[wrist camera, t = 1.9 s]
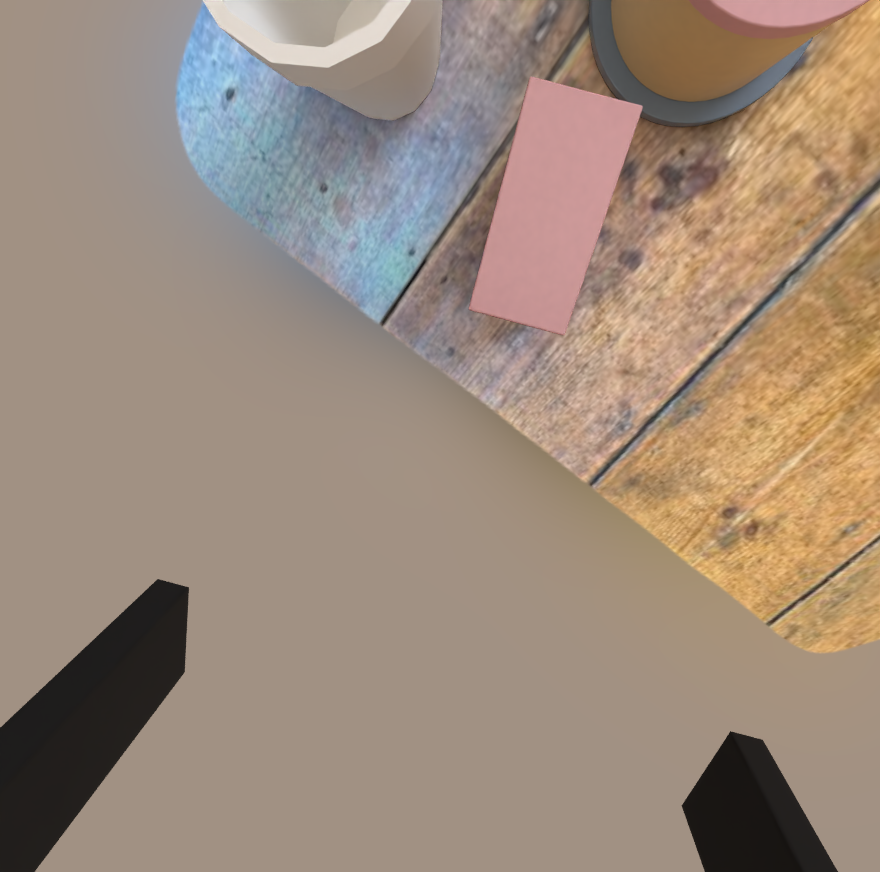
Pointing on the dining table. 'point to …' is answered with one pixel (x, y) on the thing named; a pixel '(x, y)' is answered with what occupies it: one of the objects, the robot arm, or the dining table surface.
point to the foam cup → (344, 47)
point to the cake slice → (552, 203)
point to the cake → (702, 51)
